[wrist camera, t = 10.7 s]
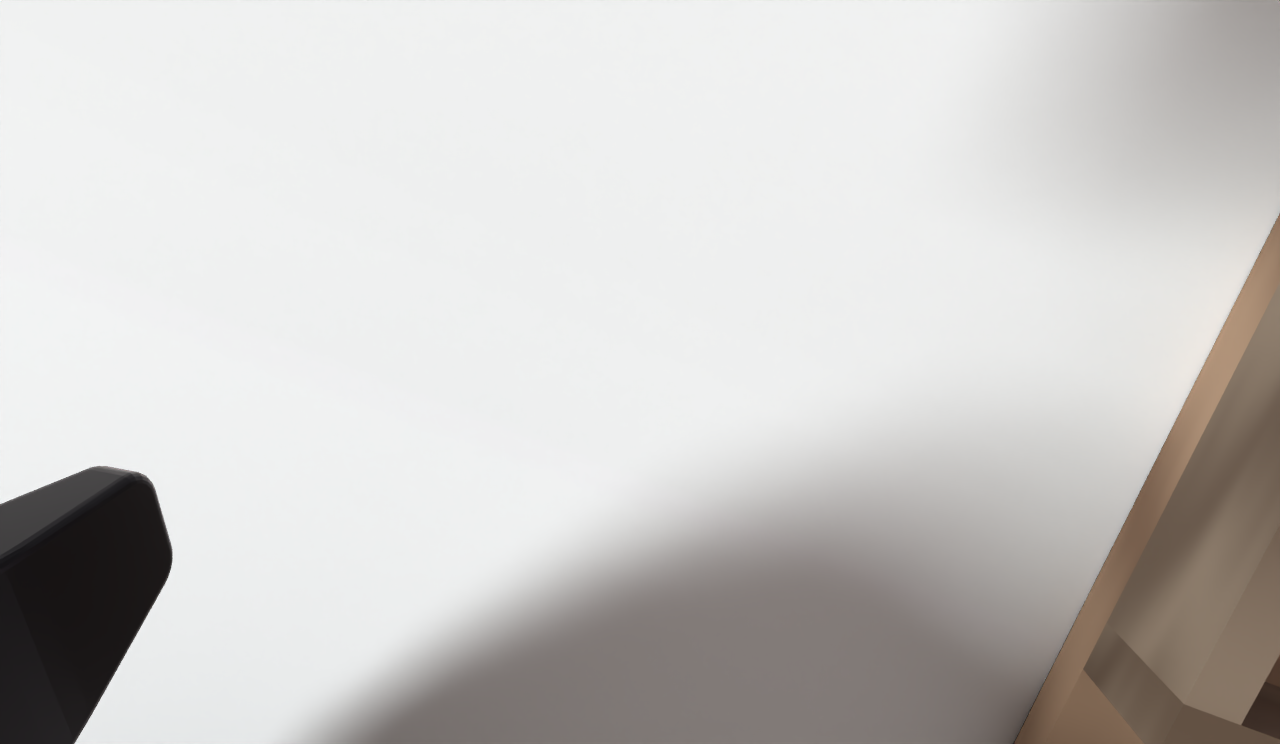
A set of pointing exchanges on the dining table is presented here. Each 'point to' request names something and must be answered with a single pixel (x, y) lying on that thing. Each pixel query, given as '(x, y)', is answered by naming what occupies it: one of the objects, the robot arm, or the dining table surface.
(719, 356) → the dining table surface
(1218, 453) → the holder
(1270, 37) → the dining table surface
